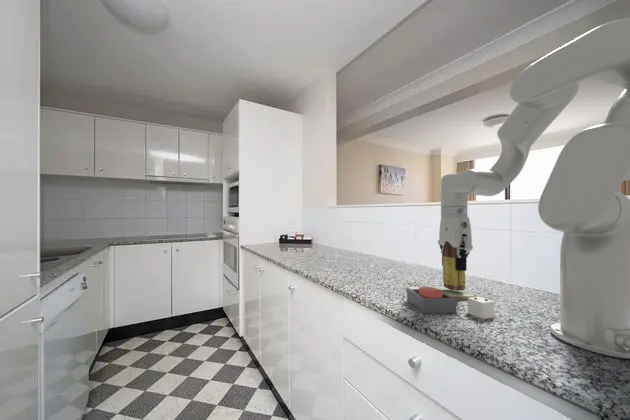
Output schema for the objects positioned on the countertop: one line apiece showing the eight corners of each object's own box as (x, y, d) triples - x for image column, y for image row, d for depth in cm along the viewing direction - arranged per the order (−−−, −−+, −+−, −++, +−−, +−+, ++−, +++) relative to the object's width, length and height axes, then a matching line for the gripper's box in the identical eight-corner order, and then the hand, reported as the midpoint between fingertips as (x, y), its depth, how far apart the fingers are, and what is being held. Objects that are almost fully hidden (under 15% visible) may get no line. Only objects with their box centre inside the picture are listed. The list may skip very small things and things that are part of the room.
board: (477, 299, 74) (477, 296, 74) (421, 300, 73) (421, 296, 73) (455, 289, 84) (455, 287, 84) (406, 290, 82) (406, 287, 83)
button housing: (456, 312, 63) (456, 299, 64) (423, 313, 63) (423, 299, 63) (436, 300, 72) (436, 288, 72) (407, 301, 72) (407, 289, 72)
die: (494, 317, 61) (494, 300, 61) (482, 319, 60) (482, 301, 60) (479, 311, 65) (479, 295, 65) (467, 313, 64) (467, 296, 64)
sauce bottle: (459, 286, 81) (459, 226, 82) (469, 291, 75) (469, 227, 76) (438, 285, 82) (439, 226, 82) (447, 290, 76) (447, 226, 76)
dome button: (447, 304, 65) (447, 293, 65) (425, 305, 64) (425, 293, 64) (434, 297, 71) (434, 286, 71) (414, 297, 70) (414, 286, 70)
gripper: (485, 212, 71) (485, 274, 70) (448, 213, 88) (447, 263, 88) (461, 211, 70) (460, 274, 70) (428, 212, 87) (427, 263, 87)
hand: (453, 267), depth 79 cm, fingers closed on sauce bottle, 6 cm apart
